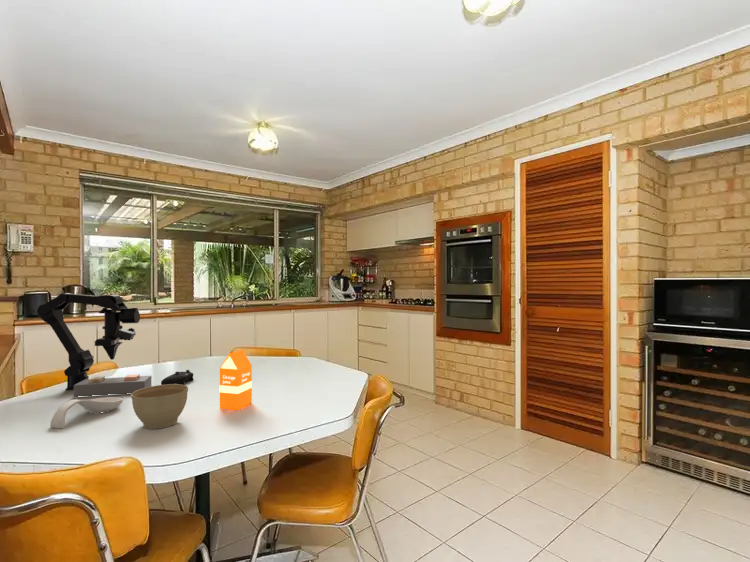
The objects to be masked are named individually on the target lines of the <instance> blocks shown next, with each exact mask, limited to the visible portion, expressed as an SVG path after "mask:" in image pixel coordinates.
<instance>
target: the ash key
mask: <svg viewBox="0 0 750 562" xmlns="http://www.w3.org/2000/svg"><path fill="white" fill-rule="evenodd" d="M105 378H106V377H105V376H91V377H89V379H88V383H97V382H102V381H104V380H105Z"/></svg>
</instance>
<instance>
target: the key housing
mask: <svg viewBox="0 0 750 562" xmlns="http://www.w3.org/2000/svg"><path fill="white" fill-rule="evenodd" d="M124 377H125V376H119V377H105V380H104V381H102V382H97V383H88V379H85V380H83V381H81V382H79V383H77V384H75V385H74V389H73V398H74V397H78V396H92V395H108V394H126V395H128V394H127V393H133V392H135V391H137V390H140V389H143V388H147V387H151V386H152V375H140V378H139V379H138V380H132V381H124Z"/></svg>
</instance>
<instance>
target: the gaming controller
mask: <svg viewBox="0 0 750 562" xmlns="http://www.w3.org/2000/svg"><path fill="white" fill-rule="evenodd" d="M186 381H189V382H190V381H194V372H191V370H190V369H186V370H185V371H175V373H173V374H171V375H167V376H166V377H165V378H163V379H162V380H161V382H160V385H167V384H180V385H183V384H184V385H185V382H186Z"/></svg>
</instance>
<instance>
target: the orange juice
mask: <svg viewBox="0 0 750 562" xmlns="http://www.w3.org/2000/svg"><path fill="white" fill-rule="evenodd" d="M252 367H253V366H252V364H251V362H250V360H249V358H248V357H247V354H246V353H245V351H244V349H241V350H237V351H234V352H230V353H228V354H227V356H226V358H225V359H224V361H223V363H222V364H221V366H220V367H219V410H224V409H229V410H228V411H234V410H239V409H241V408H242V409H244V408H246V407H248V406H250V405H251V404H250V403H252V404H253V398H252V397H253V392H252V391H253V377H252V376H253V371H252V370H253V369H252ZM249 404H250V405H249ZM247 405H248V406H247ZM245 406H246V407H245ZM243 407H244V408H243ZM242 409H241V410H242ZM239 411H240V410H239Z"/></svg>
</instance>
